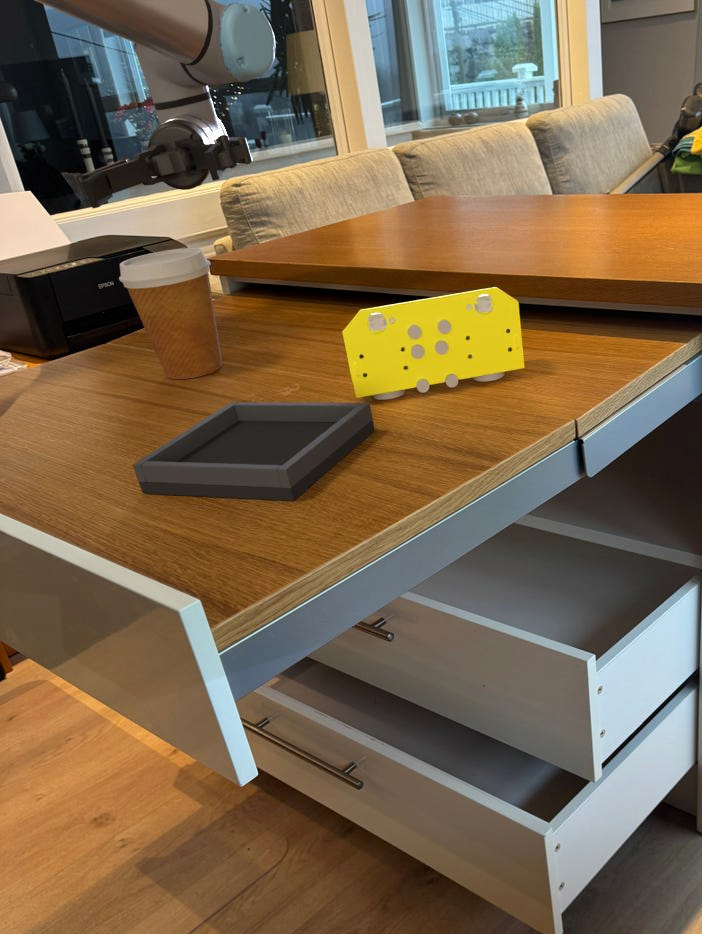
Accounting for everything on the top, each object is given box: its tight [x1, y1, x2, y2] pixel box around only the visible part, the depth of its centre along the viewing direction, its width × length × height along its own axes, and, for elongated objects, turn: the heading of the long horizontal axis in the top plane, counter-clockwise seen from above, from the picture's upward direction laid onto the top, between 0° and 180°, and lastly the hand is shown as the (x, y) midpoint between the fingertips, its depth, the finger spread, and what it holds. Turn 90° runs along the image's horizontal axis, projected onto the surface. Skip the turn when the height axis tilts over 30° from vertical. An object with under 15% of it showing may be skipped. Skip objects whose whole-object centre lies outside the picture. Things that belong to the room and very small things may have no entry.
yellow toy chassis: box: [341, 286, 525, 401], centre depth 83 cm, size 16×6×8 cm, turn 101°
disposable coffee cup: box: [118, 247, 223, 380], centre depth 97 cm, size 10×10×12 cm
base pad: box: [132, 401, 376, 502], centre depth 73 cm, size 14×14×2 cm
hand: (150, 180), depth 97 cm, fingers open, 13 cm apart
